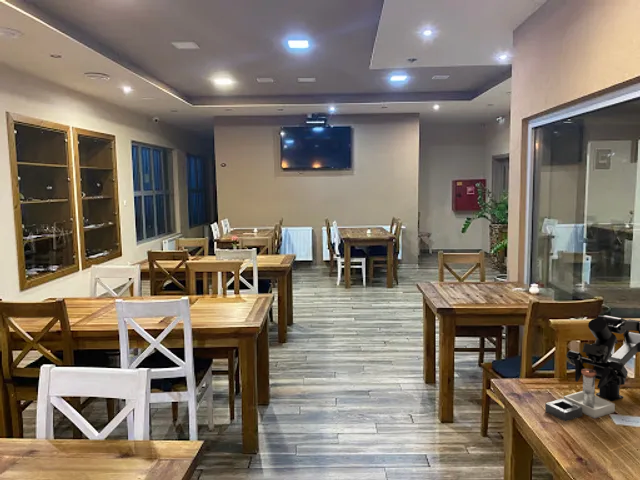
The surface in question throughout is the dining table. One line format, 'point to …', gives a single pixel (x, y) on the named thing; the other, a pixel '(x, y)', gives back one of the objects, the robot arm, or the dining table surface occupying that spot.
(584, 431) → the dining table surface
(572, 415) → the dark grey square socket
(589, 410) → the tray
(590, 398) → the pin
